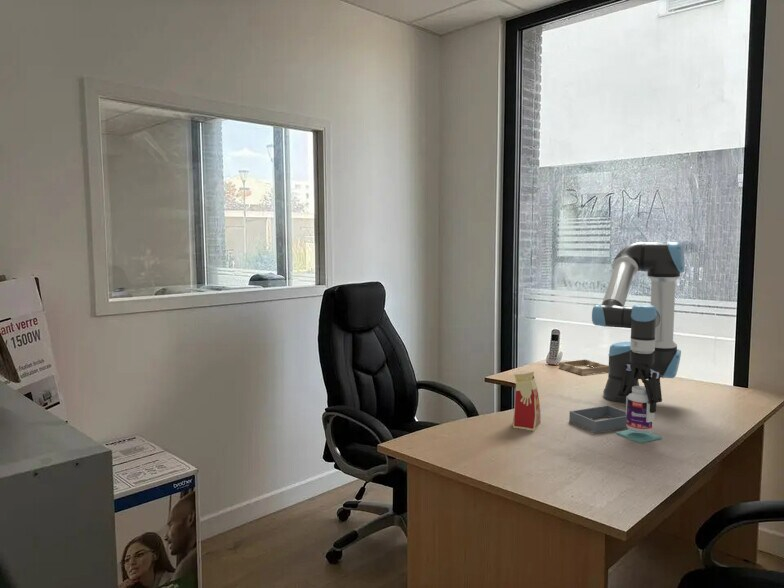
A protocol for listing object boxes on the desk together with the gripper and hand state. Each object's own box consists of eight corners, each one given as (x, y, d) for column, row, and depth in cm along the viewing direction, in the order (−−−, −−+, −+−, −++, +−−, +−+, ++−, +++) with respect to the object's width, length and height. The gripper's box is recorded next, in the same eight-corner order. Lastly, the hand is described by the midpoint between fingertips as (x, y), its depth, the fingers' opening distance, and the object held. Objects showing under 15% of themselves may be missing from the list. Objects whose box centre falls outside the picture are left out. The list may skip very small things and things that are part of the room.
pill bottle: (628, 432, 195) (630, 390, 193) (624, 425, 203) (625, 384, 201) (654, 434, 193) (656, 391, 192) (649, 426, 201) (650, 385, 200)
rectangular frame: (569, 422, 213) (569, 411, 213) (607, 415, 221) (608, 405, 220) (595, 433, 201) (595, 421, 201) (635, 425, 209) (635, 414, 208)
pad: (616, 433, 201) (616, 432, 201) (638, 429, 205) (638, 427, 205) (639, 443, 192) (639, 441, 192) (661, 438, 196) (661, 436, 196)
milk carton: (540, 423, 212) (541, 369, 210) (535, 431, 204) (536, 374, 202) (515, 420, 216) (516, 366, 214) (509, 427, 207) (510, 372, 205)
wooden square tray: (559, 368, 297) (559, 362, 297) (585, 365, 304) (585, 359, 304) (582, 375, 282) (582, 369, 281) (609, 372, 289) (609, 366, 288)
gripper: (610, 346, 203) (608, 410, 206) (659, 358, 184) (656, 428, 187) (626, 345, 206) (624, 408, 209) (676, 356, 187) (673, 425, 190)
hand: (639, 417), depth 198 cm, fingers closed on pill bottle, 8 cm apart
